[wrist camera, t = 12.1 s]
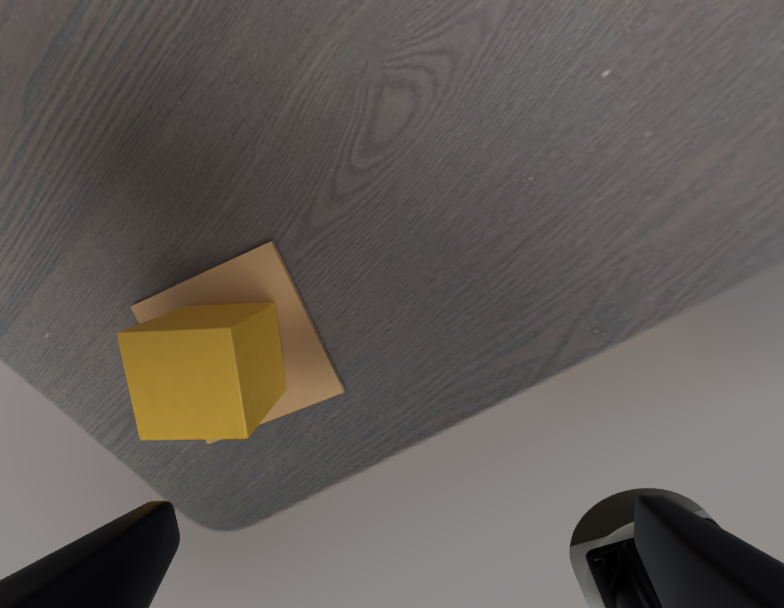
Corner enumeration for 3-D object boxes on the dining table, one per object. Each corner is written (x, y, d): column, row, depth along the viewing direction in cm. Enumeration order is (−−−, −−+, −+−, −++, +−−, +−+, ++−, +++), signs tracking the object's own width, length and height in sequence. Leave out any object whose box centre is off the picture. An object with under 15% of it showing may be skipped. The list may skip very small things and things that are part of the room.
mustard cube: (287, 390, 20) (247, 439, 16) (201, 392, 20) (139, 441, 16) (275, 301, 19) (230, 327, 15) (185, 305, 19) (115, 332, 15)
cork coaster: (346, 389, 20) (344, 392, 20) (211, 440, 21) (207, 444, 21) (273, 240, 19) (270, 241, 18) (135, 305, 20) (129, 306, 20)
